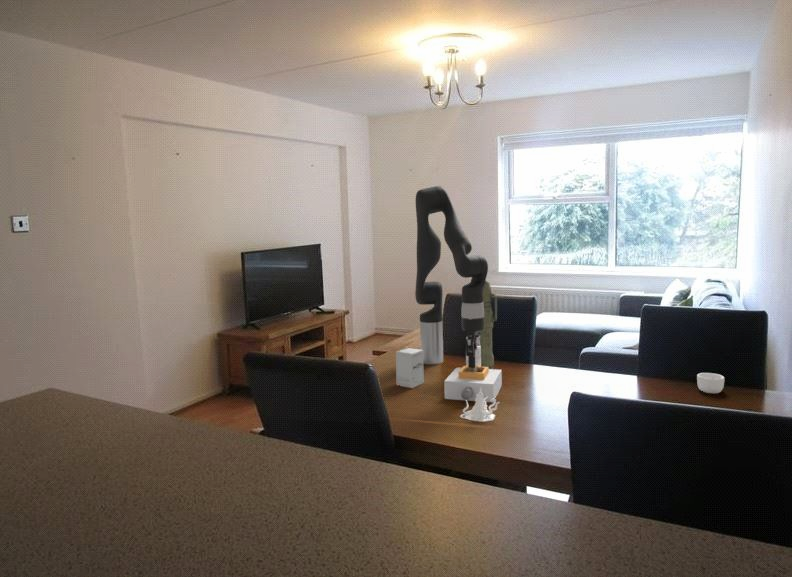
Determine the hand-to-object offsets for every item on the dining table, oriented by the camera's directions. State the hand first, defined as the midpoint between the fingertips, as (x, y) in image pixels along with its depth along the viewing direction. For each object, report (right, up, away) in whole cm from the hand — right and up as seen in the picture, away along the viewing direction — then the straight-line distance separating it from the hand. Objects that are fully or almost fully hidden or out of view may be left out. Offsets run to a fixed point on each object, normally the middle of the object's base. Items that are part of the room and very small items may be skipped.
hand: (473, 365), depth 186 cm
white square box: (0, -10, -1) cm, 10 cm away
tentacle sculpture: (-1, -12, -23) cm, 26 cm away
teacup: (+77, -8, -5) cm, 77 cm away
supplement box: (-21, -9, +12) cm, 26 cm away
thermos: (+7, -6, +27) cm, 29 cm away
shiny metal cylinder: (0, -3, 0) cm, 3 cm away
